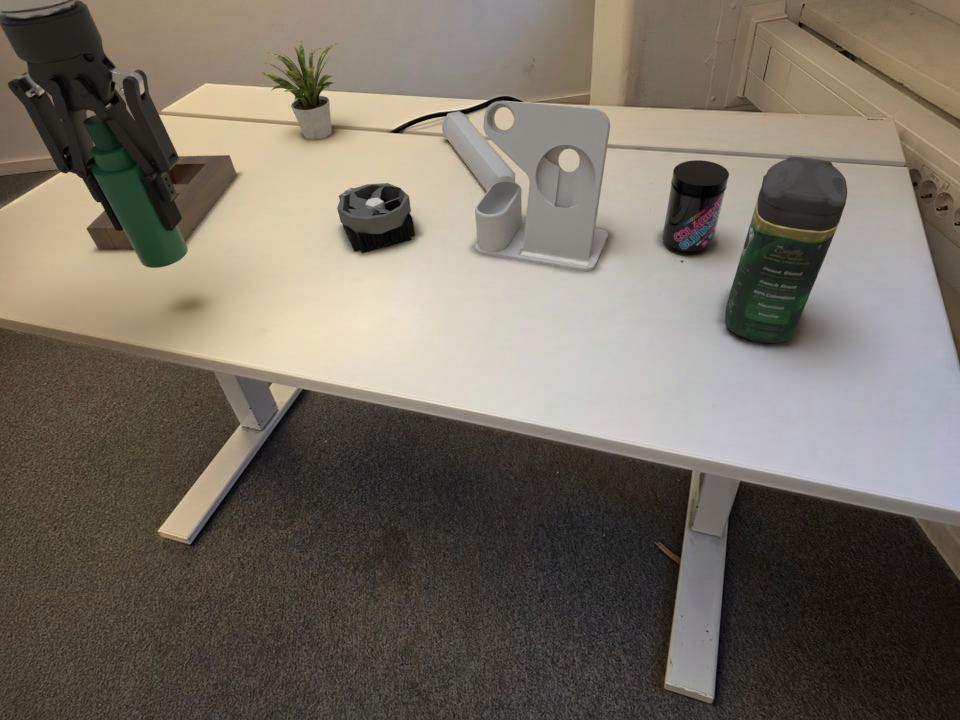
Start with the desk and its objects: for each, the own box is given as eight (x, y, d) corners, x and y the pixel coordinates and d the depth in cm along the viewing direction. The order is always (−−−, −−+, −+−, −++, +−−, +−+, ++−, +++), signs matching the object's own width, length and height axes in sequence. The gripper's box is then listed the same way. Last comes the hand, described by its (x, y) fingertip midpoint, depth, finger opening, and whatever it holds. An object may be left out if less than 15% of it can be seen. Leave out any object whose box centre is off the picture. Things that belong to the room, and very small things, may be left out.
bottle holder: (99, 251, 92) (85, 228, 89) (168, 177, 108) (158, 156, 105) (180, 251, 90) (168, 227, 87) (237, 176, 106) (229, 155, 104)
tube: (525, 173, 92) (472, 113, 109) (494, 170, 90) (444, 109, 107) (516, 205, 96) (465, 142, 113) (485, 203, 93) (438, 138, 110)
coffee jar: (793, 353, 67) (855, 202, 54) (719, 337, 69) (761, 190, 57) (798, 301, 73) (854, 154, 60) (729, 288, 76) (769, 145, 63)
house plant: (334, 111, 125) (313, 24, 114) (372, 129, 117) (355, 38, 106) (272, 135, 118) (244, 45, 107) (309, 155, 111) (283, 61, 99)
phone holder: (470, 253, 85) (459, 127, 72) (495, 216, 91) (489, 95, 79) (592, 274, 79) (602, 142, 67) (609, 233, 86) (622, 106, 74)
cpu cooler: (416, 206, 84) (345, 224, 82) (422, 241, 88) (354, 260, 85) (395, 175, 91) (329, 191, 89) (401, 208, 95) (338, 225, 93)
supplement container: (658, 253, 82) (670, 182, 75) (663, 227, 86) (675, 158, 79) (710, 260, 80) (728, 188, 73) (713, 232, 85) (730, 162, 77)
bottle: (132, 267, 73) (56, 131, 62) (153, 241, 77) (86, 108, 65) (175, 268, 73) (107, 130, 61) (195, 242, 77) (134, 107, 65)
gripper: (153, -9, 58) (235, 208, 74) (-25, -2, 59) (93, 208, 76) (113, 15, 52) (210, 242, 69) (-81, 22, 54) (59, 241, 70)
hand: (149, 224), depth 72 cm, fingers closed on bottle, 6 cm apart
